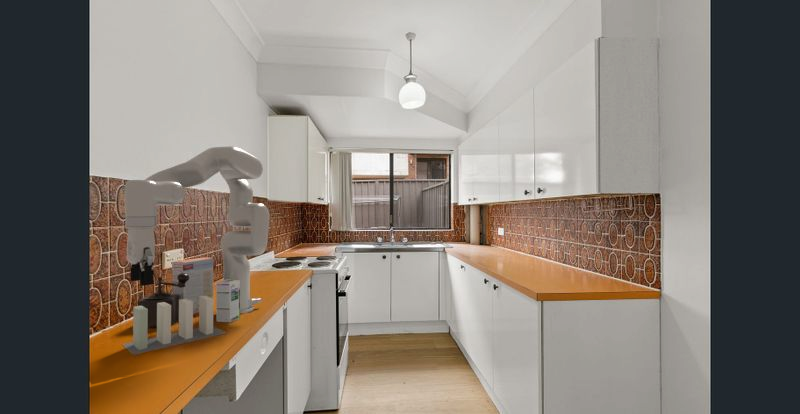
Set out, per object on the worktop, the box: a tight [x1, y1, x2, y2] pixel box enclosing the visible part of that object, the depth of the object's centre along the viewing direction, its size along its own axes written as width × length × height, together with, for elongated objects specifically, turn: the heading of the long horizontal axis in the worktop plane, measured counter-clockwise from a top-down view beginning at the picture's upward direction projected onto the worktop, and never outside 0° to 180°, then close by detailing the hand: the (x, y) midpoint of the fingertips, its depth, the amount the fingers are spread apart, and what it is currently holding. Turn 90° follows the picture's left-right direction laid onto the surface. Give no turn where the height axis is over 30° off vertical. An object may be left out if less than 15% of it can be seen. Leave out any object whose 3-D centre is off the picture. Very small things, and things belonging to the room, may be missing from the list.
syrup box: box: [215, 279, 241, 323], centre depth 137 cm, size 6×6×14 cm
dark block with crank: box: [137, 273, 189, 329], centre depth 133 cm, size 16×11×18 cm
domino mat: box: [122, 326, 227, 355], centre depth 117 cm, size 25×12×1 cm, turn 138°
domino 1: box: [132, 305, 149, 350], centre depth 110 cm, size 2×6×11 cm, turn 48°
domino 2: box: [156, 302, 172, 344], centre depth 114 cm, size 2×6×11 cm, turn 48°
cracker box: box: [171, 257, 214, 317], centre depth 146 cm, size 14×6×21 cm, turn 161°
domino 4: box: [198, 296, 214, 335], centre depth 123 cm, size 2×6×11 cm, turn 48°
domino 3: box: [178, 299, 194, 339], centre depth 118 cm, size 2×6×11 cm, turn 48°
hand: (141, 282), depth 110 cm, fingers open, 9 cm apart
